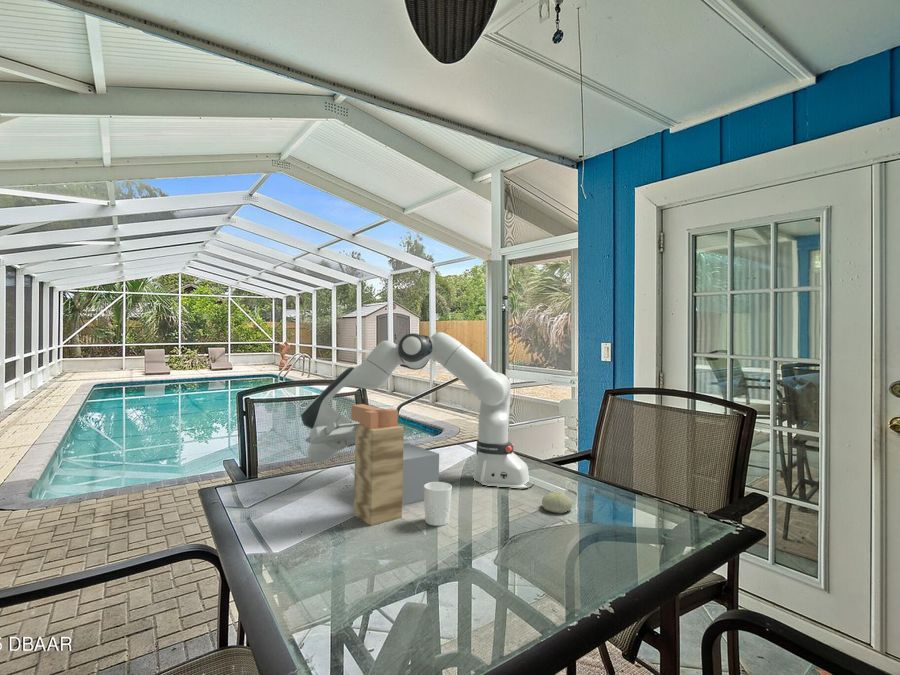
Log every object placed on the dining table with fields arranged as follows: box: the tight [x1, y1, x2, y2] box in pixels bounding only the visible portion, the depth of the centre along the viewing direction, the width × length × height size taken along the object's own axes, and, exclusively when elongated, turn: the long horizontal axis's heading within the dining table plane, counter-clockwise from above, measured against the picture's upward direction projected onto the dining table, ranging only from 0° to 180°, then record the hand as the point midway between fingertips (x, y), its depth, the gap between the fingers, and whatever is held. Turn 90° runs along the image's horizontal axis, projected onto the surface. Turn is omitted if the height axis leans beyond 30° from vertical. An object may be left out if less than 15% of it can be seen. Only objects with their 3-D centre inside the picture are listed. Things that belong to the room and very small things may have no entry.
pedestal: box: [353, 424, 405, 527], centre depth 137 cm, size 10×10×26 cm
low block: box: [402, 443, 440, 507], centre depth 157 cm, size 18×15×14 cm
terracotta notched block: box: [350, 403, 399, 429], centre depth 141 cm, size 16×9×4 cm, turn 39°
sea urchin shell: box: [541, 491, 573, 514], centre depth 146 cm, size 9×8×8 cm
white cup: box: [423, 481, 453, 527], centre depth 134 cm, size 8×8×10 cm
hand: (350, 423), depth 150 cm, fingers open, 8 cm apart
